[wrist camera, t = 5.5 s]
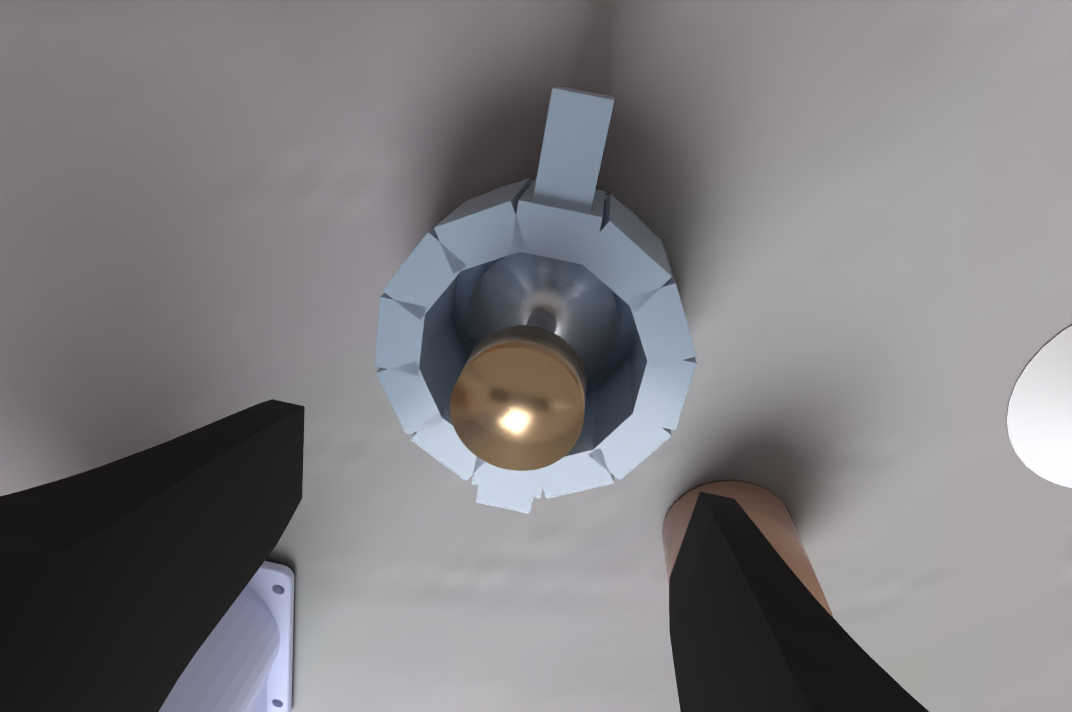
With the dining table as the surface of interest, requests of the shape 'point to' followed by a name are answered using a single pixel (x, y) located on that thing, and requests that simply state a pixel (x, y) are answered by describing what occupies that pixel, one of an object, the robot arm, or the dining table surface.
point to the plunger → (531, 359)
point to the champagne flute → (1045, 412)
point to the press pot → (560, 233)
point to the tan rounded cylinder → (762, 512)
